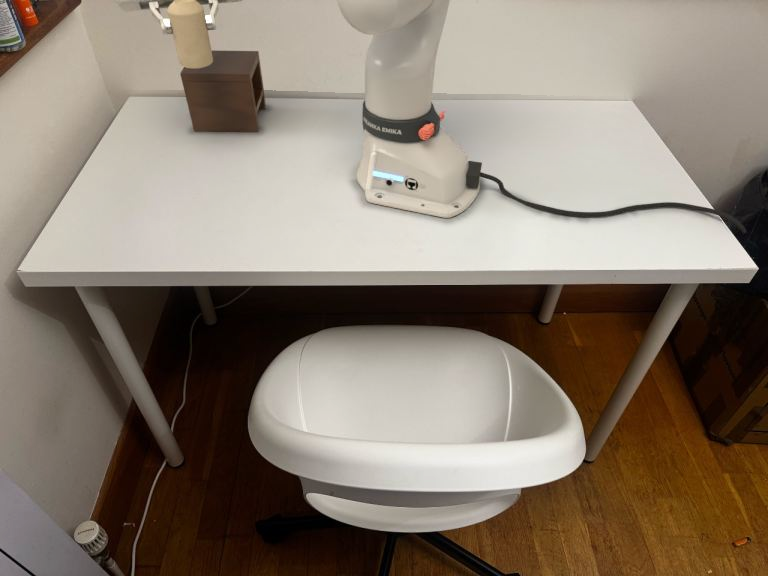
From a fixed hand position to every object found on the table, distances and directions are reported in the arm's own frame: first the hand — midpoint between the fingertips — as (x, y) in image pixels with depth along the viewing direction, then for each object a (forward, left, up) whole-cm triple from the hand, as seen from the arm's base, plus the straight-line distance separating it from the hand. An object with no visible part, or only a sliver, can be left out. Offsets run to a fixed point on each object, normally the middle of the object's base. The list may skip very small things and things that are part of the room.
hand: (190, 30), depth 91 cm
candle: (0, 0, -6) cm, 6 cm away
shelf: (+8, -13, -23) cm, 28 cm away
